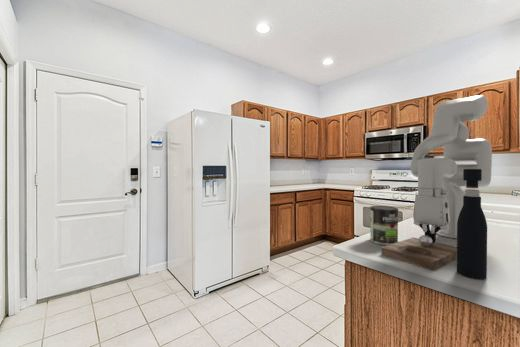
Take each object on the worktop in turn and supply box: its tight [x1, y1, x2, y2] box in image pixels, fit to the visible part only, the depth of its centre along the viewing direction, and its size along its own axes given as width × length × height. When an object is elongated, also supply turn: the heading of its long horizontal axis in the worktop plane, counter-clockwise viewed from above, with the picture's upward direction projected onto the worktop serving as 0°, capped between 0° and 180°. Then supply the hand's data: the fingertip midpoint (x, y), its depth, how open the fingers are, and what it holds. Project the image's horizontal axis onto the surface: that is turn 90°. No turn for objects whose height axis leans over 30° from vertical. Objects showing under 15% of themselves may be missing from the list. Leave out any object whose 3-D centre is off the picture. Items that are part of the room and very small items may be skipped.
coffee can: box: [369, 205, 399, 246], centre depth 99 cm, size 10×10×14 cm
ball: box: [418, 234, 432, 247], centre depth 85 cm, size 4×4×4 cm
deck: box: [380, 237, 457, 271], centre depth 84 cm, size 22×16×2 cm
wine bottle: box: [456, 169, 488, 280], centre depth 68 cm, size 6×6×30 cm
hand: (430, 243), depth 87 cm, fingers closed
